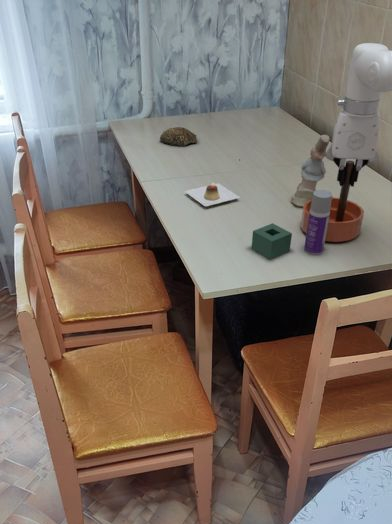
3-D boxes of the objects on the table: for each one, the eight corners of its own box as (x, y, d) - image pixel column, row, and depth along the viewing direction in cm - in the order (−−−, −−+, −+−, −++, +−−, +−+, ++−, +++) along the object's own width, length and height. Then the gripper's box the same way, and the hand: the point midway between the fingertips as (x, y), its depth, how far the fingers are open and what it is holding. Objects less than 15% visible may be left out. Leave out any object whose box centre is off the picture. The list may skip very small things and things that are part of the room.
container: (302, 253, 135) (311, 196, 125) (305, 244, 138) (314, 188, 129) (321, 256, 134) (331, 199, 124) (324, 247, 137) (334, 191, 128)
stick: (344, 222, 141) (356, 162, 131) (339, 224, 141) (351, 164, 130) (338, 219, 143) (349, 159, 132) (333, 222, 142) (344, 161, 131)
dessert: (204, 210, 154) (205, 193, 151) (183, 194, 162) (183, 179, 158) (239, 201, 158) (240, 185, 155) (217, 186, 166) (218, 171, 163)
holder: (289, 251, 136) (292, 233, 133) (270, 259, 133) (272, 241, 129) (270, 240, 140) (272, 223, 137) (251, 248, 137) (252, 230, 134)
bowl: (371, 232, 144) (376, 211, 140) (332, 250, 136) (336, 228, 132) (326, 212, 153) (330, 192, 149) (288, 227, 146) (291, 206, 142)
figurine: (319, 210, 154) (331, 138, 141) (289, 207, 156) (298, 135, 143) (321, 197, 161) (332, 127, 148) (292, 194, 162) (301, 125, 149)
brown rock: (155, 141, 197) (154, 127, 194) (178, 132, 204) (177, 119, 201) (181, 149, 191) (181, 135, 188) (204, 140, 198) (204, 126, 195)
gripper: (326, 109, 121) (314, 188, 133) (399, 112, 120) (380, 192, 131) (324, 100, 127) (313, 176, 138) (393, 102, 125) (376, 179, 137)
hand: (346, 183), depth 135 cm, fingers closed on stick, 2 cm apart
